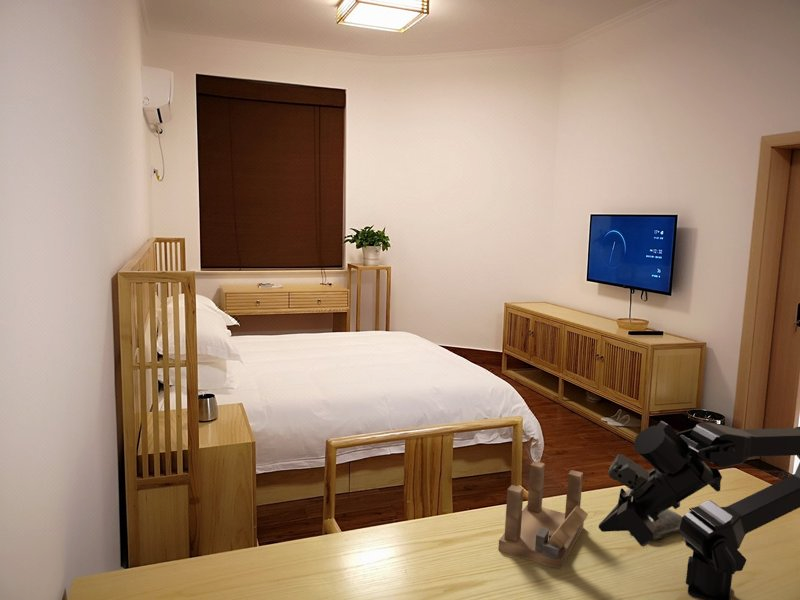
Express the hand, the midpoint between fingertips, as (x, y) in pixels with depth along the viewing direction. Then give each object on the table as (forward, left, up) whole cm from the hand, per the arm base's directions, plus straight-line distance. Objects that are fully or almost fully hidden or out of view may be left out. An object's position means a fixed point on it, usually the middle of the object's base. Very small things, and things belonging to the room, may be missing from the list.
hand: (600, 528), depth 107 cm
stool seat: (+12, -6, -9) cm, 16 cm away
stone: (-7, -24, -9) cm, 26 cm away
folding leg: (+8, +1, -5) cm, 10 cm away
